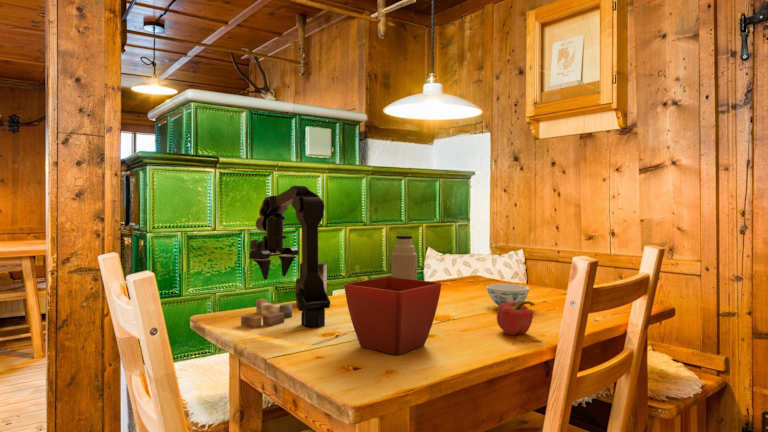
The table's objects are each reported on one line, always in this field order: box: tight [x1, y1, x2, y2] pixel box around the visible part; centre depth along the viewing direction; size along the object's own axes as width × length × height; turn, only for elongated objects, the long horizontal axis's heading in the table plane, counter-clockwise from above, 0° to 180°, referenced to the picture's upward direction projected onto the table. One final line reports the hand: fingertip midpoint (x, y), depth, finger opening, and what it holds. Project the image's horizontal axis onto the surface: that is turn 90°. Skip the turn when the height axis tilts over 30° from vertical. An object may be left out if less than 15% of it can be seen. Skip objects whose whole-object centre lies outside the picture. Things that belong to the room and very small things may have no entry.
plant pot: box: [343, 276, 442, 356], centre depth 128 cm, size 19×19×17 cm
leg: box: [255, 298, 293, 319], centre depth 159 cm, size 14×4×4 cm, turn 58°
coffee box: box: [299, 261, 328, 304], centre depth 179 cm, size 9×6×16 cm
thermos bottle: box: [391, 234, 418, 280], centre depth 152 cm, size 8×8×28 cm
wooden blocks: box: [240, 312, 285, 330], centre depth 147 cm, size 8×10×4 cm
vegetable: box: [496, 300, 536, 336], centre depth 141 cm, size 11×10×10 cm
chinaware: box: [486, 283, 530, 309], centre depth 177 cm, size 15×15×8 cm
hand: (274, 277), depth 167 cm, fingers open, 9 cm apart
